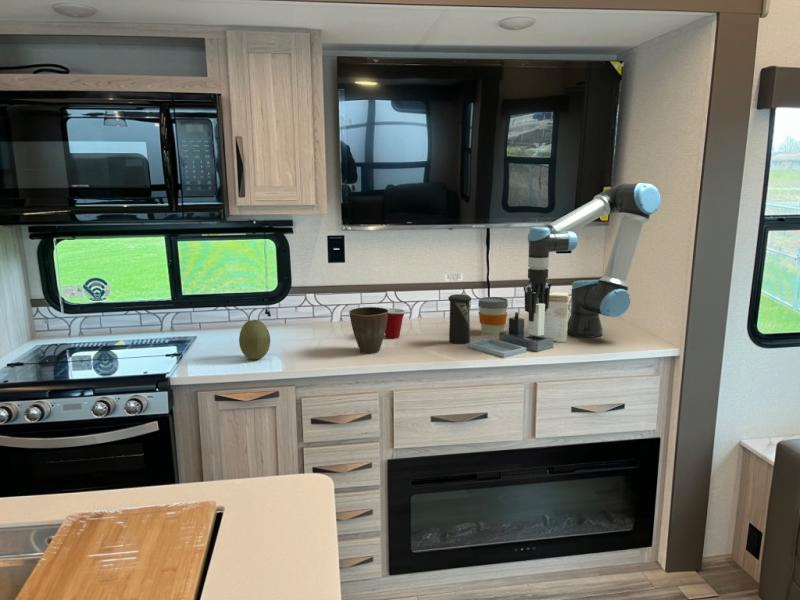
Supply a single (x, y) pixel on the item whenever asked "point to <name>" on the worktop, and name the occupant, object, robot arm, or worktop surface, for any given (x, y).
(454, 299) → the container
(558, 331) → the coffeecake box
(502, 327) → the reusable coffee cup
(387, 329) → the plastic cup
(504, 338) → the grey socket base
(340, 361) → the worktop surface
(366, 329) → the plant pot
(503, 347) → the tray
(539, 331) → the plug
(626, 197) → the robot arm
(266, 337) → the fruit
